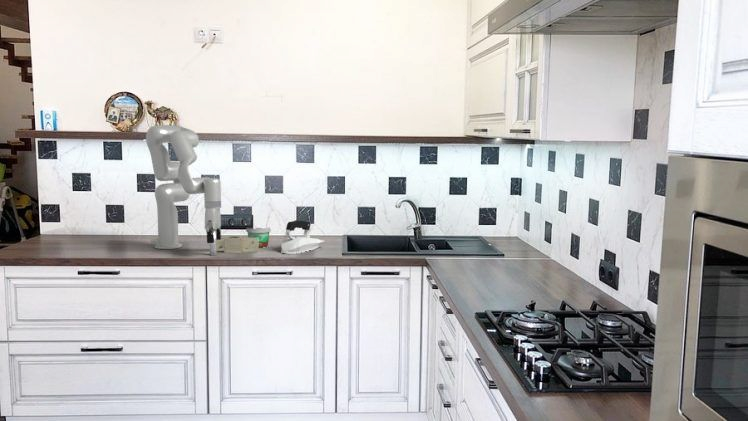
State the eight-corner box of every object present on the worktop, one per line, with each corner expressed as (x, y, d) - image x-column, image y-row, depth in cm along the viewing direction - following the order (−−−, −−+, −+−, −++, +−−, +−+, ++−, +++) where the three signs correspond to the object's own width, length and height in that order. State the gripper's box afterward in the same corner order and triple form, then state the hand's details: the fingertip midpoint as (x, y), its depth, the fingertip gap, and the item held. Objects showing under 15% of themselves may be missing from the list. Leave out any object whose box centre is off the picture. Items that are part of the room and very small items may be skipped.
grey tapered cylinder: (208, 255, 303) (207, 228, 301) (210, 254, 306) (210, 227, 305) (216, 255, 302) (215, 228, 301) (218, 254, 306) (218, 227, 305)
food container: (247, 249, 320) (246, 229, 319) (246, 246, 326) (246, 227, 325) (272, 248, 324) (272, 228, 322) (270, 246, 329) (270, 226, 328)
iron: (324, 248, 327) (324, 218, 325) (293, 255, 307) (293, 224, 305) (307, 245, 333) (308, 216, 331) (275, 252, 313) (275, 222, 311)
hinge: (207, 252, 311) (207, 237, 310) (213, 249, 318) (213, 235, 318) (256, 253, 309) (256, 239, 308) (260, 250, 316) (260, 236, 316)
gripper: (211, 203, 310) (212, 238, 312) (198, 206, 293) (199, 244, 295) (226, 203, 310) (227, 238, 312) (214, 207, 292) (215, 244, 294)
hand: (214, 241), depth 303 cm, fingers open, 9 cm apart
